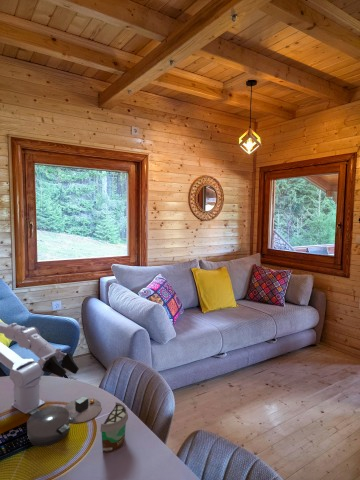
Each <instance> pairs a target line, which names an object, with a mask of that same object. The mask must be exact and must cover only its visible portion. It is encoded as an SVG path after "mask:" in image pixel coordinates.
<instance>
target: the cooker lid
mask: <svg viewBox="0 0 360 480" xmlns="http://www.w3.org/2000/svg"><path fill="white" fill-rule="evenodd" d="M63 407H64V408H66V409H67V410H68V412H69V423H73V424H78V423H85V422H88V421H91V420H93V419H94V418H96V417H97V416H98V415H99V414H100V412H101V410H102V403H101V402H100V401H99V400H98V399H96V398H92V397H86V396H84V395H83V396H82V397H79V398H78V399H74V400H72V401H70V402H68V403H67V404H66V405H64V406H63Z"/></svg>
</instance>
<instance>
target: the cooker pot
mask: <svg viewBox="0 0 360 480" xmlns="http://www.w3.org/2000/svg"><path fill="white" fill-rule="evenodd" d="M64 407H65V406H59V405H52V406H47V407H43V408H40V409H39V407H37V408H35V409H34V410H32V411H30V412H28V416H29V417H28V419H27V421H26V432H27V435H26V436H28V438H27V440H28V439H29V440H30V442H31V443H32V444H31V445H32V446H34V447H46V446H47V447H48V446H51V445H55V444H56V443H58V442H60V441H61V440H63V439H64V438H65V437H66V436H67V435H68V433H69V431H70V430H71V426H70V422H69V412H68V410H67V409H66V408H64Z"/></svg>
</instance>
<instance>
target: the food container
mask: <svg viewBox="0 0 360 480" xmlns="http://www.w3.org/2000/svg"><path fill="white" fill-rule="evenodd" d="M128 420H129V413H128V409H127V408H126V406H125V405H124V404H122V403H120V402H117V401H116V402H115V406H114V408H113V409H112V411H110V412H109V414H108V415H107V418H106V419H105V420H104V422H103V423H100V429H99V430H100V431H99V432H101V433H100V434H101V446H102V453H103V454H104V453H106V454H107V453H109V454H110V453H113V452H116V451H119V450H120V449H121V448H122V447H123V446H124V445H125V439H126V426H127V425H126V424H127V422H128Z"/></svg>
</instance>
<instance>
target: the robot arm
mask: <svg viewBox="0 0 360 480" xmlns="http://www.w3.org/2000/svg"><path fill="white" fill-rule="evenodd" d="M0 334H2V335H4V337H5V338H6V339H8V340H11V341H13V342H16V343H17V345H18V346H19V347H20V348H22V349H23V348H24V349H26V350H29V351H30V352H32V353H33V354H34V355H35V356H36V357H37V358H38V359H39V360H34V359H33V358H23V357H21V356H20V355H19V354H18V353H16V352H15V351H14V350H13V349H11V348H9V347H8V346H7V345H6V344H4V343H2V341H0V363H1V364H2V365H3V366H5V367H6V368H7V369H9V370H10V371H9V379H10V380H11V381H12V383H13V385H14V386H13V403H11V406H12V407H14V409H16V410H18V411H20V412H22V413H23V414H29V412H30V411H32V410H34V409H35V408H39V407H40V406H43V405H45V403H46V402H45V401H44V400H42V399H41V398H40V397H41V396H40V381H41V379H42V378H41V377H42V376H44V373H45V372H46V373H50V374H53V375H56V376H58V377H60V378H64V377H65V375H66V373H67V370H68V371H69V372H70V373H72V374H74V375H76V374H77V373H78V371H79V367H78V365H77V363H76V362H75V361H74V358H73V354H72V353H71V352H67V353H64V352H62V351H61V350H62V348H61V347H57V348H55V346H53V345H52V344H51V343H50V342H48V340H46V339H44V338H43V337H42V336H41V333H40V331H39V329H38V327H36V326H30V327H26V326H25V325H23V326H22V325H19V324H17V322H13V323H10V324H7V323H5V322H3V321H1V320H0ZM60 362H61V364H60Z"/></svg>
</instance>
